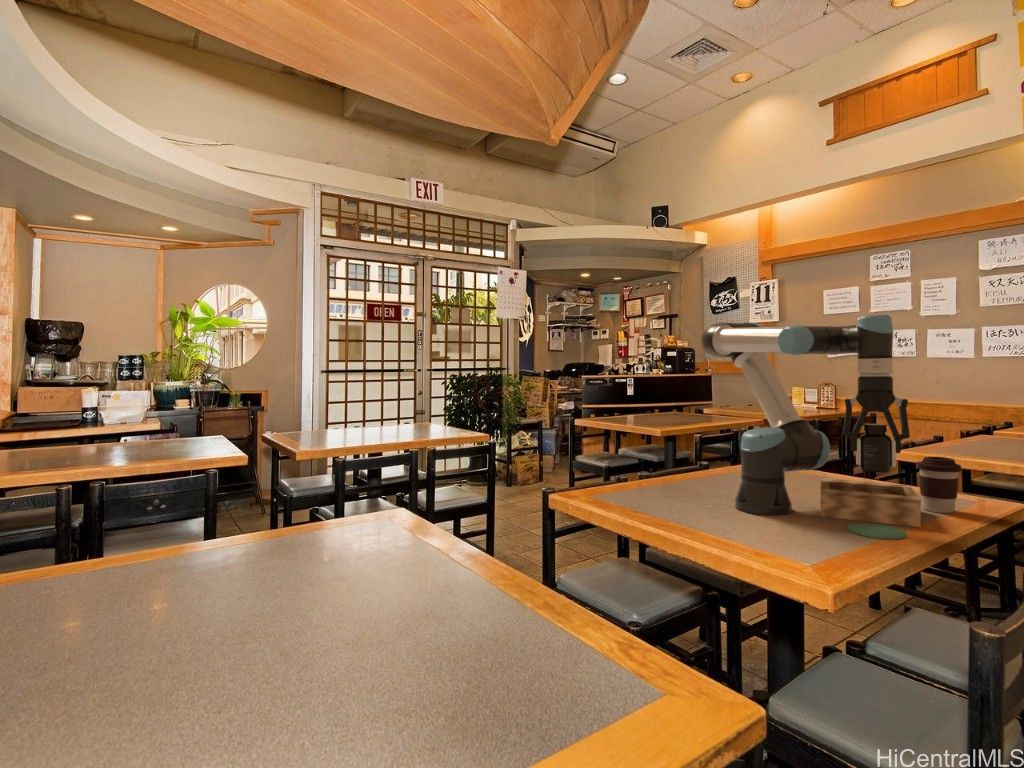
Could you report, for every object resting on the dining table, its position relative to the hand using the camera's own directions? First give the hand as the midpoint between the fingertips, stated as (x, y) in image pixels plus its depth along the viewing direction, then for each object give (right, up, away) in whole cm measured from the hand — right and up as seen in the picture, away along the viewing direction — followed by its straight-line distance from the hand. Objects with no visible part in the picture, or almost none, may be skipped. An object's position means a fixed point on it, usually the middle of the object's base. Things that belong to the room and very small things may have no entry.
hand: (875, 464), depth 140 cm
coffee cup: (+28, -16, +16) cm, 36 cm away
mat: (-2, -16, -4) cm, 17 cm away
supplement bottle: (0, -2, 0) cm, 2 cm away
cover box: (+7, -16, +14) cm, 22 cm away
